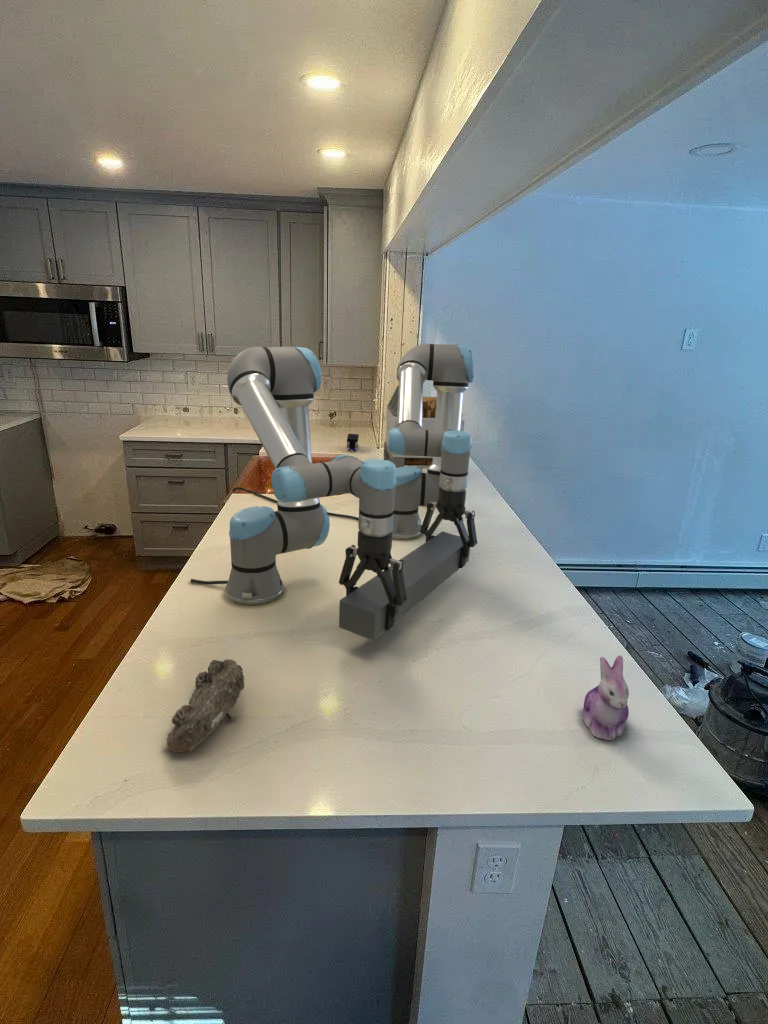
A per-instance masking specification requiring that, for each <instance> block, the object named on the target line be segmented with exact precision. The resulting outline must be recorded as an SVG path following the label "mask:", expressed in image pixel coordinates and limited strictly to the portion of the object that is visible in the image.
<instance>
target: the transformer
mask: <svg viewBox="0 0 768 1024" xmlns="http://www.w3.org/2000/svg"><path fill="white" fill-rule="evenodd" d="M398 394H399V384H398V385H397V386H396V388H395V390H394V392H393V394H392V395H391V398H390V400H389V402H388V404H387V405H386V413H385V414H386V415H385V423H386V428H385V438H384V442H383V460H388V461H391V462H392V463H394V465H395V467H396V468H399V467H405V466H413V467H429V466H430V465H431V464H432V461H433V457H428V456H406V455H404V456H402V455H395V454H391V453H389V451H388V444H389V430H390V429H391V428H396V424H397V409H398ZM436 401H437V396H423V407H422V430H435V416H436ZM464 429H465V419H464V418H463V411H462V412H461V425H460V431H465V430H464Z"/></svg>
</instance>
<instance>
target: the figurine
mask: <svg viewBox="0 0 768 1024" xmlns="http://www.w3.org/2000/svg"><path fill="white" fill-rule="evenodd" d="M599 666H600V667H599V669H600V681H599V684H598V685H597V686H595V687H593V688H592V689H590V690H589V691H588V692H586V694H585V697H584V701H583V708H582V714H581V715H582V719H583V722H584V725H585V726H586V727H587V728H588V729H589V731H590V732H591V734H592V735H593V736H594V737H596V738H598V739H601V740H606V741H614V739H616V737H620V736H622V734H623V732H624V728H625V725H626V722H627V721H628V718H629V713H630V709H629V705H628V699H629V695H630V691H629V686H628V683H627V682H626V680H625V678H624V658H623V656H622V655H621V654H620V655H617V656H616V658H615V659H614V662H613V664H612V666H611V665H610V664H609V662H608V660H607V659H606V658H605V656H600V657H599Z"/></svg>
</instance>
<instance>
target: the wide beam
mask: <svg viewBox="0 0 768 1024" xmlns="http://www.w3.org/2000/svg"><path fill="white" fill-rule="evenodd" d="M434 536H435V537H433V538H432V539H430V540H429V541H427V542H426V543H425V542H424V543H423V544H421V545H419V546H418V547H417V548H415V549H414V550H412V551H411V552H409V553H408V554H406V555H405V556H403V557H402V558H400V559H399V560H403V562H404V564H403V576H404V582H405V588H406V594H407V601H406V602H405V603H403V604H402V605H401V606H399V607H398V615H397V616H396V617H395V619H394V625H395V624H396V623H397V622H398V621H399V620H401V619H402V618H403V617H404V616H405V615H407V614H408V613H409V612H411V610H412V609H414V608H416V606H417V605H419V604H420V603H421V602H422V601H423V600H425V599H426V598H427V597H428V596H429V595H430V594H432V593H433V592H434V591H435V590H437V588H439V587H440V586H441V585H443V584H444V583H445V582H446V581H447V580H448V579H449V578H450V577H452V576H453V575H454V574H455V573H456V572H458V571H459V570H461V569H460V568H459V561H460V551H461V547H462V546H463V543H462V540H461V538H460V535H456V534H453V533H450V532H446V531H440V532H439V533H438V534H435V535H434ZM470 553H471V552H470ZM470 553H469V556H468V557H467V558H466V562H465V565H466V564H468V562H470ZM389 568H390V574H391V577H392V579H393V575H392V570H391V565H389ZM393 582H394V581H393ZM388 603H389V600H388V597H387V595H386V592H385V589H384V587H383V584H382V582H381V579H380V578H379V577H378V575H377V574H376V575H375V576H373V577H372V578H371V579H369V580H368V581H366V582H364V583H363V584H361V585H360V586H359V587H358V588H357V589H356V590H354V591H353V592H351V593H350V594H348V595H347V596H346V595H345V596H344V597H342V598H341V599H340V600H339V611H338V612H339V615H338V617H339V619H338V620H339V621H338V628H340V629H342V630H345V631H348V632H350V633H353V634H355V635H357V636H360V637H362V638H365V639H367V640H370V641H373V642H375V640H377V639H379V637H380V636H382V635H383V634H384V633H385V632H386V631H387V630H385V623H386V606H387V604H388Z"/></svg>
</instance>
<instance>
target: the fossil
mask: <svg viewBox="0 0 768 1024" xmlns="http://www.w3.org/2000/svg"><path fill="white" fill-rule="evenodd" d="M243 670H244V669H243V667H242V665H240V664H237V662H236V661H235V660H234V659H232V658H231V659H227V658H226V659H224V660H223V661H222V660H217V659H212V660H211V661H210V663H209V665H208V666H207V671H201V672H199V673H198V674H197V675H196V676H195V680H194V684H195V685H194V687H195V689H194V690H193V693H192V694H191V697H190V698H189V700H188V704H184V705H182V706H181V707H180V709H177V710H176V711H175V713H174V715H173V716H172V718H171V723H172V724H173V727H172V730H171V731H170V732H168V734H167V738H166V741H167V742H166V745H167V749H168V750H169V751H173V752H174V753H176V754H178V753H182V752H188V751H189V752H192V751H193V750H195V748H196V747H197V746H199V744H200V743H201V742H203V741H204V740H205V739H206V738H207V737H208V736H209V735H210V734H211V733H212V732H214V730H215V729H217V727H218V726H219V724H220V722H221V721H222V720H223V719H224V718H225V716H226V717H227V719H229V720H233V717H232V715H230V714H229V710H230V709H231V708H234V706H235V704H236V703H237V702H238V699H239V697H240V695H241V693H242V691H243V690H245V689H244V688H245V675H244V671H243Z"/></svg>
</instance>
